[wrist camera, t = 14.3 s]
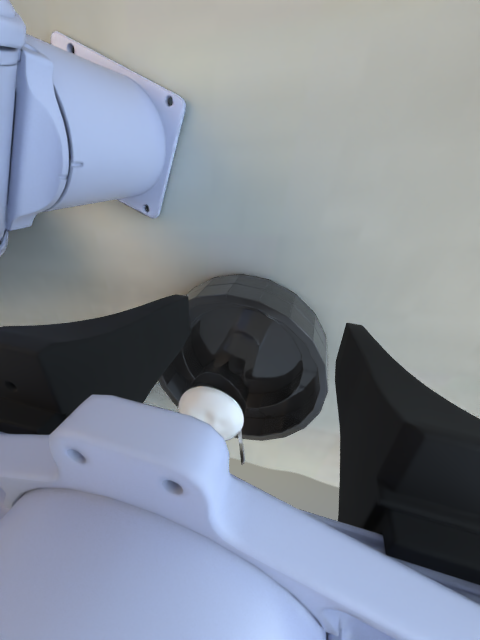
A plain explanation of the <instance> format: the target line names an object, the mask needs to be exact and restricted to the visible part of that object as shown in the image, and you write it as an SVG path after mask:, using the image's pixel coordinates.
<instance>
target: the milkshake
mask: <svg viewBox="0 0 480 640" xmlns="http://www.w3.org/2000/svg"><path fill="white" fill-rule="evenodd" d="M258 349H259V347H258V346H257V344H256V342H255V340H254V339H253V338H252V337H250V336H248V335H246V334H244V333H232V334H231V335H230V336H229V337H227V338H226V339H225V340H224V341H223V343H222V344H221V346H220V347H219V348H218V350H217V351H216V352H215V354H214V355H213V356H212V358H211V359H210V360H209V362H208V363H207V365H206V366H205V367H204V369H203V370H202V371H201V373H200V374H199V375H198V376H197V378H196V379H195V380H194V381H193V383H192V384H191V385H190V386H189V388H188V389H187V390H186V391H185V393H184V394H183V395H182V397H181V398H180V401H179V413H182V414H186V415H190V416H193V417H195V418H197V419H199V420H201V421H204V422H206V423H208V424H210V425H211V426H212V427H213V428H214V429H215V430H216V431H217V432H218V433H219V434H220V435H221V436H222V437H223V438H224V440H225V441H227V440H230V439H232V438H233V437H235V436H236V435H237V434H238V437H239V446H240V455H241V464H242V465H243V464H244V463H245V457H244V449H243V440H242V432H241V429H242V427H243V423H244V418H245V412H246V407H247V402H248V396H249V389H250V385H251V380H252V376H253V372H254V368H255V364H256V359H257V354H258Z"/></svg>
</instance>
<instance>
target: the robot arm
mask: <svg viewBox="0 0 480 640" xmlns="http://www.w3.org/2000/svg"><path fill="white" fill-rule="evenodd" d="M73 46H74V49H75V52H74V54H73V52H72V48H73ZM170 97H172V99H173V104H172V105H171V106H169V103H168V100H169V98H170ZM185 109H186V104H185V101H184V99H183V98H182V97H181V96H179V95H177V94H175V93H173V92H171V91H170V90H168V89H166V88H164V87H162V86H160V85H158V84H156V83H154V82H153V81H151V80H149V79H147V78H145V77H143V76H141V75H139V74H137V73H135V72H134V71H132V70H130V69H128V68H126V67H124V66H122V65H120V64H118V63H117V62H115V61H113V60H111V59H109V58H107V57H105V56H103V55H101V54H99V53H98V52H96V51H94V50H92V49H90V48H88V47H86V46H84V45H82V44H81V43H79V42H77V41H75V40H73V39H71V38H69V37H67V36H65V35H63V34H62V33H60V32H57V31H54V32H53V33H52V34H51V44H49V43H47V42H44V41H42V40H40V39H37V38H35V37H33V36H30V35H28V34H26V26H25V24H24V22H23V20H22V19H21V17H20V16H19V14H18V13H17V12H16V11H15V10H14V8H13V6H12V4H11V3H10V1H9V0H0V256H1V255H2V254H3V253H4V252H5V250H6V247H7V244H8V231H12V230H17V229H21V228H26V227H31V226H32V222H33V219H34V218H35V216H36V215H37V214H39V213H41V212H46V211H52V210H58V209H63V208H69V207H75V206H81V205H86V204H92V203H98V202H103V201H109V200H115V199H117V200H118V201H120V202H122V203H124V204H126V205H128V206H130V207H132V208H133V209H135V210H137V211H139V212H141V213H143V214H145V215H147V216H148V217H150V218H157V217H158V216H159V215H160V211H161V207H162V203H163V199H164V195H165V191H166V187H167V183H168V179H169V175H170V170H171V166H172V162H173V158H174V154H175V150H176V146H177V142H178V138H179V134H180V130H181V126H182V122H183V118H184V114H185ZM146 205H147V206H148V207H149V211H147V210H146ZM189 334H190V319H189V300H188V296H182V295H172V296H168V297H165V298H162V299H159V300H156V301H154V302H151V303H148V304H145V305H142V306H139V307H136V308H133V309H130V310H126V311H123V312H120V313H116V314H113V315H109V316H104V317H100V318H95V319H89V320H83V321H77V322H70V323H62V324H51V325H37V326H3V327H0V640H480V419H479V418H477V417H475V416H473V415H471V414H470V413H468V412H466V411H464V410H462V409H461V408H459V407H457V406H456V405H454V404H452V403H451V402H449V401H448V400H446V399H445V398H443V397H441V396H440V395H438V394H437V393H435V392H434V391H432V390H431V389H430V388H428V387H427V386H425V385H424V384H423V383H421V382H420V381H419V380H417V379H416V378H415V377H414V376H412V375H411V374H410V373H409V372H407V371H406V370H405V369H404V368H403V367H402V366H401V365H399V364H398V363H397V362H396V361H395V360H394V359H393V358H392V357H391V356H390V355H389V354H388V353H387V352H386V351H385V350H384V349H383V348H382V347H381V346H380V345H379V343H378V342H377V341H376V340H375V339H374V338H373V337H372V336H371V335H370V333H369V332H368V331H367V330H366V329H365V328H364V327H363V326H362V325H357V324H351V323H346V327H345V330H344V334H343V338H342V341H341V345H340V348H339V352H338V355H337V359H336V369H335V385H336V395H337V404H338V413H339V422H340V489H339V516H338V521H336V520H332V519H329V518H326V517H323V516H319V515H316V514H313V513H310V512H306V511H303V510H300V509H297V508H295V507H293V506H291V505H289V504H287V503H285V502H284V501H282V500H280V499H278V498H276V497H274V496H272V495H270V494H268V493H266V492H264V491H263V490H261V489H259V488H257V487H255V486H253V485H251V484H249V483H247V482H245V481H243V480H242V479H240V478H238V477H236V476H234V475H232V474H230V473H229V452H228V449H227V446H226V443H225V440H224V438H223V437H222V436H221V435H220V434H219V433H218V432H217V431H216V430H215V429H214V428H213V427H212V426H211V425H210V424H208V423H206V422H204V421H201V420H199V419H197V418H195V417H193V416H190V415H186V414H182V413H178V412H174V411H170V410H167V409H163V408H159V407H155V406H151V405H147V404H143V402H144V401H145V399H146V397H147V396H148V394H149V392H150V391H151V389H152V388H153V386H154V385H155V383H156V382H157V381H158V379H159V378H160V377H161V375H162V374H163V373H164V371H165V370H166V369H167V368H168V366H169V365H170V364H171V362H172V361H173V360H174V358H175V357H176V356H177V354H178V353H179V352H180V350H181V349H182V347H183V346H184V344H185V342H186V340H187V338H188V336H189Z"/></svg>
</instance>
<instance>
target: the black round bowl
mask: <svg viewBox="0 0 480 640" xmlns="http://www.w3.org/2000/svg"><path fill="white" fill-rule="evenodd" d="M186 296H188V300H189V319H190V334H189V336H188V338H187V340H186V342H185V344H184V346H183V347H182V349H181V350H180V352H179V353H178V354H177V356H176V357H175V358H174V360H173V361H172V362H171V364H170V365H169V366H168V368H167V369H166V370H165V371H164V373H163V374H162V375H161V377H160V378H159V379H158V380H159V382H160V384H161V386H162V388H163V389H164V391H165V392H166V393H167V395H168V396H169V397H170V398H171V400H172V401H173V402H174V404H175V405H176V406H177V407H179V401H180V398H181V397H182V395H183V394H184V393H185V391H186V390H187V389H188V388H189V386H190V385H191V384H192V383H193V381H194V380H195V379H196V378H197V376H198V375H199V374H200V373H201V371H202V370H203V369H204V367H205V366H206V365H207V363H208V362H209V360H210V359H211V358H212V356H213V355H214V354H215V352H216V351H217V350H218V348H219V347H220V346H221V344H222V343H223V341H224V340H225V339H226V338H227V337H229V336H230V335H231V334H232V333H244V334H246V335H248V336H250V337H252V338H253V339H254V340H255V342H256V344H257V346H258V347H259V349H258V354H257V359H256V364H255V368H254V372H253V376H252V380H251V385H250V389H249V396H248V402H247V407H246V412H245V418H244V423H243V427H242V429H241V432H242V439H249V440H260V441H261V440H262V441H263V440H270V439H276V438H283V437H286V436H288V435H291V434H293V433H295V432H297V431H299V430H301V429H304V428H305V427H306V426H307V425H308V424H309V423H310V422H311V421H312V420H313V419H314V418H315V417H316V416H317V415H318V414H319V413H320V412H321V409H322V406H323V404H324V401H325V398H326V395H327V393H328V353H327V341H326V335H325V333H324V331H323V329H322V327H321V325H320V322H319V320H318V318H317V316H316V314H315V313H314V312H313V311H312V310H311V309H310V308H309V307H308V306H307V305H306V304H305V303H304V302H303V301H302V300H301V299H300V298H299V297H298V296H297V295H296V294H295V293H293V292H292V291H290V290H288V289H286V288H284V287H282V286H280V285H278V284H276V283H275V282H273V281H271V280H269V279H264V278H259V277H254V276H249V275H244V274H239V275H230V276H221V277H214V278H212V279H210V280H208V281H206V282H204V283H202V284H200V285H198V286H196V287H194V288H193V289H192V290H191V291H190V292H189V293H188V294H187V295H186ZM235 438H239V437H238V434H237V435H236V436H235Z"/></svg>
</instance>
